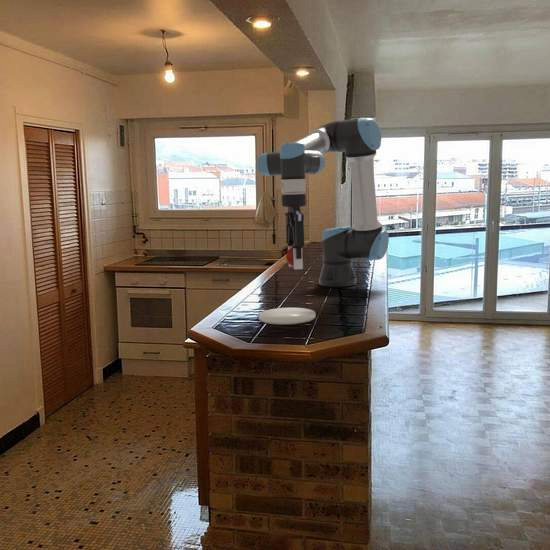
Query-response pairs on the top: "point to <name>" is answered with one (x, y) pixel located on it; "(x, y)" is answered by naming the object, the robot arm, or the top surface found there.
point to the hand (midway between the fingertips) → (295, 267)
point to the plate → (287, 315)
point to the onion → (290, 256)
